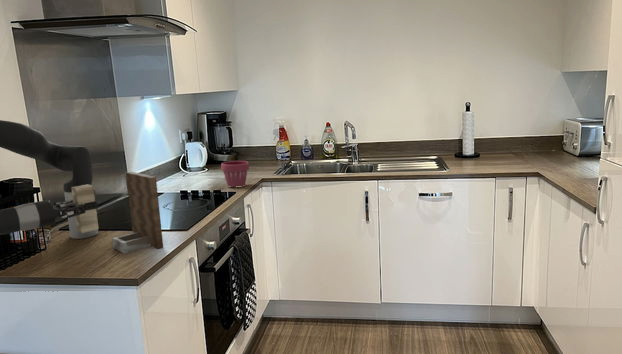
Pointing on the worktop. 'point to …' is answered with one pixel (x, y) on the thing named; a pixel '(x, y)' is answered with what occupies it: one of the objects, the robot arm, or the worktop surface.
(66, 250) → the worktop surface
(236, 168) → the plant pot
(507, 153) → the worktop surface
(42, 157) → the robot arm
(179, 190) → the worktop surface
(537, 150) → the worktop surface
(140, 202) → the upright wooden board
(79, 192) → the ridged beige block
